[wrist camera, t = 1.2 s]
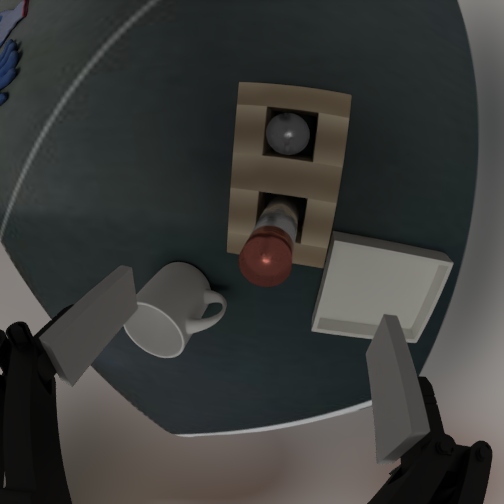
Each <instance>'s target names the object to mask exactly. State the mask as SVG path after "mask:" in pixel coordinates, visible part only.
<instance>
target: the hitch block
mask: <svg viewBox="0 0 504 504" xmlns="http://www.w3.org/2000/svg"><path fill="white" fill-rule="evenodd" d="M351 97H352V95H349V94H344V93H338V92H333V91H327V90H321V89H314V88H307V87H299V86H290V85H280V84H267V83H250V82H239V89H238V100H237V111H236V123H235V135H234V148H233V161H232V175H231V190H230V206H229V223H228V241H227V252H230V253H236V254H240V252H241V250H242V249H243V247H244V245H245V243H246V241H247V240H248V238H249V236H250V234H251V232H252V231H253V229H254V227H255V225H256V224H257V222H258V220H259V218H260V216H261V215H262V213H263V211H264V209H265V203H266V194H267V192H268V193H275V194H282V195H289V196H295V197H302V198H306V204H305V210H304V217H303V223H302V224H300V223H298V225H297V232H296V239H295V246H294V253H293V260H292V263H295V264H301V265H307V266H313V267H319V268H323V266H324V262H325V258H326V253H327V249H328V244H329V239H330V234H331V230H332V225H333V220H334V214H335V209H336V204H337V198H338V192H339V187H340V181H341V175H342V168H343V162H344V155H345V148H346V140H347V133H348V125H349V116H350V107H351ZM275 111H277V112H286V113H295V114H302V115H309V116H316V117H317V120H316V129H315V138H314V146H313V154H312V157H311V156H305V155H298V154H293V155H284V154H281V153H278V152H275V151H271V146H270V145H269V143H268V141H267V137H266V129H267V126H268V124H269V122H270V121H271V120H272V119H273V118H274V115H275Z"/></svg>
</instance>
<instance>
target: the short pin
mask: <svg viewBox="0 0 504 504" xmlns="http://www.w3.org/2000/svg"><path fill="white" fill-rule="evenodd" d="M266 137H267V141H268V143H269V145H270V146H271V147H272V148H273V149H274V150H275V151H277V152H278V153H281V154H284V155H293V154H296V153H299V152H300V151H302V150H303V149H304V148H305V147H306V145H307V144H308V142H309V138H310V131H309V128H308V125H307V123H306V122H305V121H304V120H303V119H302V118H301V117H300V116H298V115H296V114H292V113H282V114H279V115H277V116H275V117H274V118H273V119H272V120H271V121H270V122H269V124H268V126H267V129H266Z"/></svg>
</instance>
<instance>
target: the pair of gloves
mask: <svg viewBox="0 0 504 504" xmlns="http://www.w3.org/2000/svg"><path fill="white" fill-rule="evenodd" d="M28 4H29V0H23V1H22V2H21V3H20V4H19V5H18V6H17V7H16V8H15V9H14V10H7V11H3V12H1V13H0V48H1V46H2V45H3V43H4V42H5V40H6V39H7V37H8V35H9V32H10V31H11V30H12V29H13V28H14V27H15V25H16V23H17V22H18V21H19V20H20V19H21V18H23V17H25V16H26V15H27V10H28ZM16 50H17V43H15V42H14V41H13V40H12V39H10V40H9V41H8V42H7V43H6V45H5V47H4V50H3V52H2V54H1V55H0V89H2V88H3V87H5V86H7V85H8V84H9V83H10V82H11V81H12V80H13V79H14V77H15V76H16V69H15V67H16V65H17V62H18V58H19V54H18V52H17V51H16ZM6 99H7V95H6V93H1V94H0V105H1V104H3V103H4V102H5V100H6Z"/></svg>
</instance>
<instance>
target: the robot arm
mask: <svg viewBox="0 0 504 504" xmlns="http://www.w3.org/2000/svg"><path fill="white" fill-rule="evenodd" d="M137 309H138V305H137V299H136V293H135V286H134V280H133V273H132V268H131V267H126V266H122V265H121V266H119V267H118V268H117V269H116V270H114V271H113V272H112V273H111V274H110V275H108V276H107V277H106V278H105V279H104V280H102V281H101V282H100V283H99V284H98V285H96V286H95V287H94V288H93V289H92V290H91V291H89V292H88V293H87V294H86V295H85V296H84V297H83V298H81V299H80V300H79V301H78V302H77V303H76V304H75V305H73V304H72V305H70V306H68V307H66V308H64V309H63V310H61V311H60V312H59V313H58V314H57V316H55V317H54V318H53V319H52V321H49V322H48V323H47V324H46V325H45V326H44V327H43V328H42V329H41V330H40V331H39V332H38V333H37V334H36V335H34V336H32V334H31V332H30V329H29V327H28V325H27V324H26V323H25V322H16V323H14V324H12V325H10V326H9V327H8V328H7V330H6V334H5V332H4V331H2V330H0V367H1V369H2V371H3V373H2V375H0V504H72V501H71V498H70V493H69V489H68V485H67V481H66V476H65V471H64V466H63V461H62V455H61V449H60V441H59V433H58V422H57V408H56V382H55V377H54V375H55V374H56V373H57V374H58V375H59V377H60V379H61V380H62V381H63V382H65V383H66V384H68V385H70V386H71V387H73V386H74V384H75V383H76V382H77V380H78V379H79V378H80V377H81V376H82V374H83V373H84V372H85V370H86V369H87V368H88V367H89V366H90V365H91V363H92V362H93V361H94V360H95V358H96V357H97V356H98V355H99V354H100V352H101V351H102V350H103V349H104V348H105V346H106V345H107V344H108V343H109V342H110V340H111V339H112V338H113V337H114V336H115V335H116V333H117V332H118V331H119V330H120V329H121V328H122V326H123V325H124V324H125V323H126V322H127V321H128V320H129V318H130V317H131V316H132V315H133V314H134V313H135V312H136V310H137ZM6 335H7V336H6ZM7 337H8V338H7ZM366 358H367V365H368V372H369V379H370V387H371V395H372V405H373V414H374V425H375V438H376V439H375V440H376V458H377V459H376V460H377V464H389V463H394V462H395V461H397V460H398V459H399V458H401V465H399V466H398V467H397V468H395V469H394V470H393V471H391V472H390V473H389V474H390V475H391V474H392V475H391V477H390V478H389V479H388V480H387V482H386V483H385V484H384V485H383V486H382V488H381V489H380V490H379V491H378V492H377V494H376V495H375V496H374V497H373V498H372V499H371V500H370V501H369V502H368V503H367V504H483V501H484V498H485V493H486V489H487V484H488V480H489V474H490V468H491V462H492V449H491V447H490V445H489V444H488V443H487V442H485V441H478V442H476V443H474V444H473V445H472V446H471V447H468V446H462V445H457V444H456V443H455V442H454V439H453V438H452V437H451V436H449V435H447V434H445V433H444V429H443V425H442V421H441V417H440V413H439V409H438V405H437V404H436V403H437V401H436V398H435V397H434V395H435V394H434V391H433V388H432V385H431V383H430V382H429V381H428V379H427V378H426V377H417V375H416V371H415V368H414V365H413V361H412V358H411V355H410V352H409V348H408V345H407V342H406V339H405V336H404V333H403V331H402V328H401V325H400V322H399V319H398V317H397V316H396V315H388V314H383V317H382V319H381V322H380V324H379V326H378V329H377V331H376V333H375V335H374V337H373V340H372V342H371V344H370V346H369V348H368V350H367V352H366ZM4 472H5V477H6V487H5V488H3V484H4Z"/></svg>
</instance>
